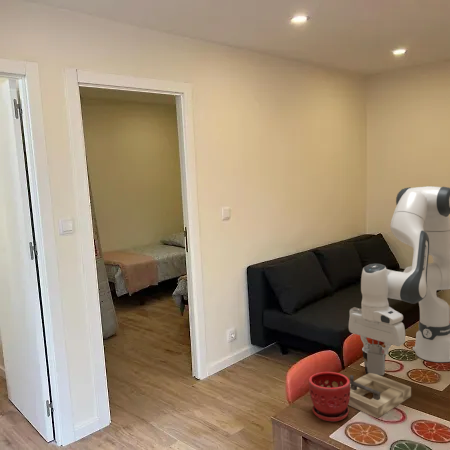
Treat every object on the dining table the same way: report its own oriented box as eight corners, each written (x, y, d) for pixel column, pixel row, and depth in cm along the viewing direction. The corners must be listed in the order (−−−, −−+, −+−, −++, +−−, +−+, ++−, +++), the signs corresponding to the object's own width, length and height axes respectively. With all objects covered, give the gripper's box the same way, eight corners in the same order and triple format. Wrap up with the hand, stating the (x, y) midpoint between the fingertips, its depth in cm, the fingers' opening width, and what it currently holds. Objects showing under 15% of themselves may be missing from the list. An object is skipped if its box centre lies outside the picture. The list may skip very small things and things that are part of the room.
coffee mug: (387, 380, 168) (387, 354, 167) (363, 379, 170) (363, 354, 168) (383, 366, 179) (383, 342, 178) (361, 365, 181) (360, 342, 180)
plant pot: (359, 413, 147) (358, 378, 145) (333, 429, 138) (332, 393, 137) (326, 399, 157) (325, 366, 155) (301, 413, 149) (300, 379, 147)
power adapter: (369, 368, 158) (368, 336, 157) (385, 371, 155) (384, 338, 154) (366, 372, 156) (366, 339, 154) (383, 375, 152) (382, 341, 151)
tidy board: (370, 380, 168) (370, 360, 167) (410, 396, 155) (410, 374, 154) (336, 399, 156) (336, 377, 155) (377, 418, 143) (377, 394, 142)
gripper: (344, 308, 159) (345, 345, 161) (397, 320, 143) (397, 362, 145) (355, 304, 163) (355, 340, 165) (407, 316, 147) (408, 356, 148)
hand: (375, 351), depth 154 cm, fingers closed on power adapter, 6 cm apart
